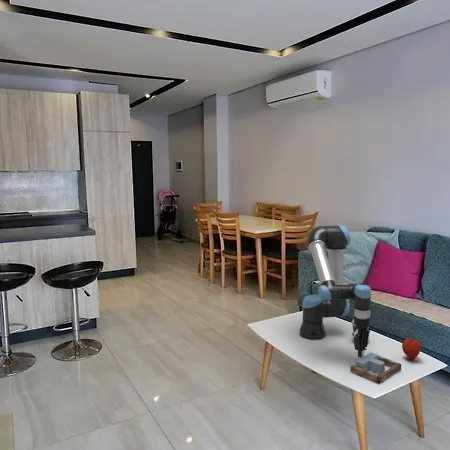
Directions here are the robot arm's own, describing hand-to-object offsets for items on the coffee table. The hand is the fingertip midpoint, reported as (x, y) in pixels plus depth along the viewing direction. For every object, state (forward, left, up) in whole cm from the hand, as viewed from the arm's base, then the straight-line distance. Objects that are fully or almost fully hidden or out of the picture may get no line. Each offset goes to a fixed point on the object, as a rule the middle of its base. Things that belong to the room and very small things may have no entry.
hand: (360, 362), depth 199 cm
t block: (+7, 0, -2) cm, 7 cm away
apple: (+14, +24, -2) cm, 28 cm away
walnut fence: (+8, 0, -1) cm, 8 cm away
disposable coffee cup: (-15, +24, -2) cm, 29 cm away
